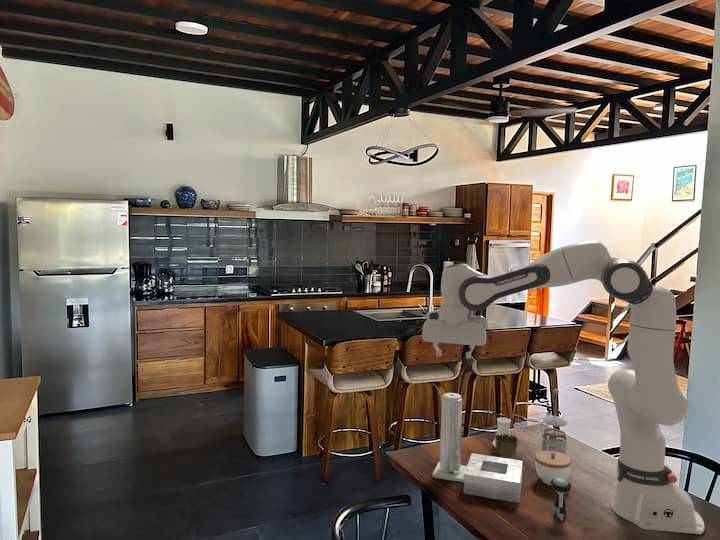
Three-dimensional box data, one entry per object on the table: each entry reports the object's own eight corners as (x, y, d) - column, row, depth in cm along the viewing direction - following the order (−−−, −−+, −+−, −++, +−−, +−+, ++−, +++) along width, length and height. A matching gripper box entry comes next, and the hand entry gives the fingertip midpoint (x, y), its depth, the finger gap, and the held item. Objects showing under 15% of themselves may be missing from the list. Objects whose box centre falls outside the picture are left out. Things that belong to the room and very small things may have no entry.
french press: (549, 467, 176) (551, 394, 175) (530, 453, 188) (532, 384, 186) (574, 464, 179) (577, 392, 177) (554, 450, 190) (557, 382, 188)
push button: (572, 523, 142) (573, 487, 141) (551, 520, 143) (552, 485, 143) (568, 510, 149) (569, 476, 148) (548, 508, 150) (549, 474, 149)
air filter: (463, 468, 172) (465, 393, 170) (455, 476, 167) (457, 399, 165) (444, 464, 175) (446, 390, 174) (436, 471, 170) (438, 395, 168)
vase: (488, 445, 194) (489, 419, 193) (499, 440, 199) (500, 414, 198) (506, 452, 188) (507, 424, 188) (517, 446, 193) (518, 420, 193)
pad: (468, 469, 174) (468, 466, 174) (463, 482, 165) (463, 479, 165) (438, 464, 178) (438, 461, 178) (432, 477, 168) (432, 474, 168)
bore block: (522, 479, 167) (522, 460, 167) (519, 503, 152) (519, 483, 152) (471, 470, 173) (471, 453, 172) (463, 493, 158) (464, 473, 157)
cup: (517, 465, 177) (518, 442, 177) (495, 463, 179) (496, 440, 178) (515, 456, 185) (516, 434, 184) (494, 454, 186) (494, 432, 186)
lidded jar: (532, 472, 173) (533, 444, 172) (566, 475, 171) (567, 447, 170) (536, 487, 162) (537, 458, 161) (573, 491, 160) (574, 461, 159)
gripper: (488, 314, 167) (487, 357, 168) (425, 311, 174) (424, 352, 175) (486, 317, 161) (485, 362, 162) (421, 313, 168) (420, 356, 169)
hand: (453, 357), depth 169 cm, fingers open, 8 cm apart
